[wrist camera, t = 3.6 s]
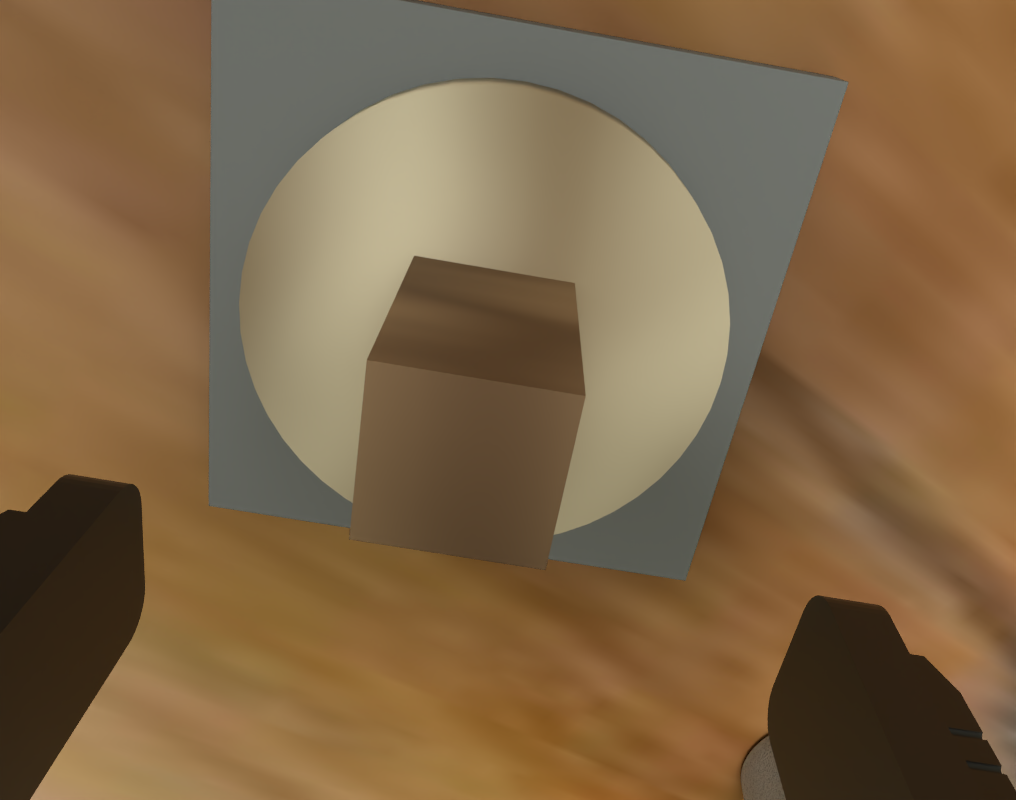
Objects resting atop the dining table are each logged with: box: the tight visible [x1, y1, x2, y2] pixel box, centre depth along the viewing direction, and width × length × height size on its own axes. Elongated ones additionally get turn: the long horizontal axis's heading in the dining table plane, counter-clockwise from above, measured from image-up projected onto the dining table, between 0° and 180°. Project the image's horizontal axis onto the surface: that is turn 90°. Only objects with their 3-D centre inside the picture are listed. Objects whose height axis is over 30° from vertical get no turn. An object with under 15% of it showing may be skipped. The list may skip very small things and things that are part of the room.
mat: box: [209, 0, 848, 581], centre depth 19 cm, size 12×12×1 cm
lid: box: [239, 78, 730, 570], centre depth 16 cm, size 10×10×6 cm
